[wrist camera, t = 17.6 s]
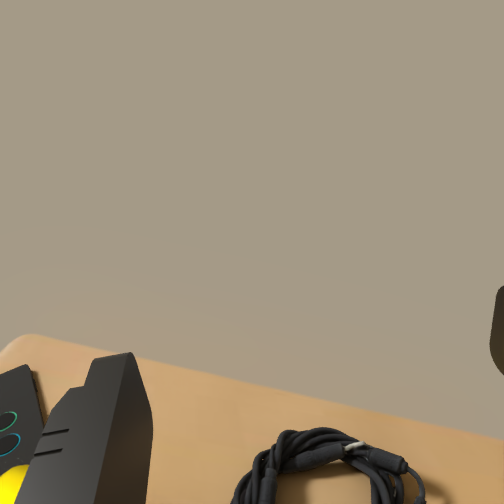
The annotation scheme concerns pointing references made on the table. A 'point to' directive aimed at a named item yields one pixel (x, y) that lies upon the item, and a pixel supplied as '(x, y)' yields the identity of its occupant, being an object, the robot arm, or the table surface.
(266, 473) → the cable
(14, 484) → the element tile
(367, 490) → the table surface
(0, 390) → the smart home device
